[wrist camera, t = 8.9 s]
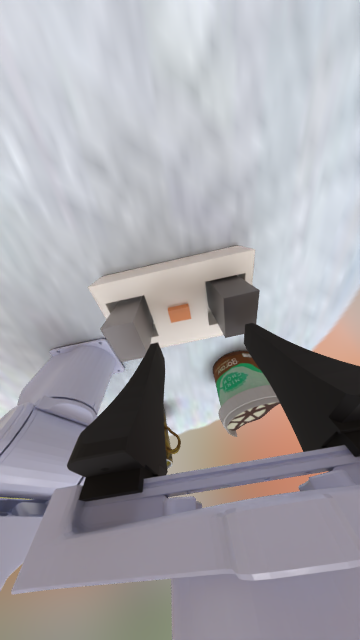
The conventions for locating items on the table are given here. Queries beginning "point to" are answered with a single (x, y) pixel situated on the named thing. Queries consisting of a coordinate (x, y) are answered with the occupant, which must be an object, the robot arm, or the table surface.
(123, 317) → the charcoal plug
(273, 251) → the table surface
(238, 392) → the food container
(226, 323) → the dark grey square prism
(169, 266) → the power strip
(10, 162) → the table surface
